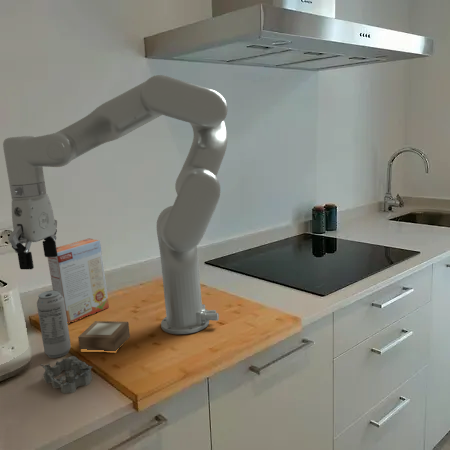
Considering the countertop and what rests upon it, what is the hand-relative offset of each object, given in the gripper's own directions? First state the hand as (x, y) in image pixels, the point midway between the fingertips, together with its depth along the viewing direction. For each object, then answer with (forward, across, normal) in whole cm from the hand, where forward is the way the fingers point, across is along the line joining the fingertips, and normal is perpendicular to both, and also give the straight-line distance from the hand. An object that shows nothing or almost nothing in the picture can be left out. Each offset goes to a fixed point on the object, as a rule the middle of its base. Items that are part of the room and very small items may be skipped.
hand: (39, 262), depth 113 cm
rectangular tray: (+22, +3, -13) cm, 26 cm away
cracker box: (+22, +20, +3) cm, 30 cm away
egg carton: (+22, -14, -13) cm, 29 cm away
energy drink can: (+22, -3, -3) cm, 22 cm away
